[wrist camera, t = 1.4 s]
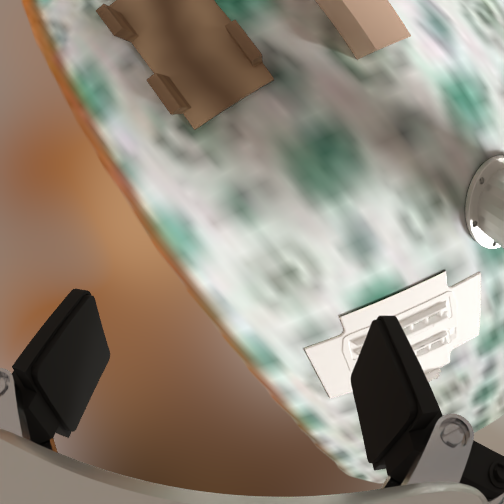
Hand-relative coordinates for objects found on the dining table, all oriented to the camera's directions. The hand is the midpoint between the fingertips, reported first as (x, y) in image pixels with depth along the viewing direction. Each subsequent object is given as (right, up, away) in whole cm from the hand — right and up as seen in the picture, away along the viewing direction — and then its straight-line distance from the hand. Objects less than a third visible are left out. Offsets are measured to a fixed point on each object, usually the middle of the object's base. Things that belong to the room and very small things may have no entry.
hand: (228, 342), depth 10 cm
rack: (-6, +24, +14) cm, 29 cm away
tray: (+23, -10, +31) cm, 40 cm away
